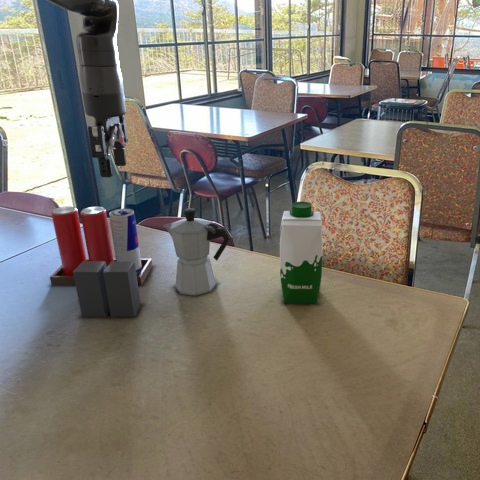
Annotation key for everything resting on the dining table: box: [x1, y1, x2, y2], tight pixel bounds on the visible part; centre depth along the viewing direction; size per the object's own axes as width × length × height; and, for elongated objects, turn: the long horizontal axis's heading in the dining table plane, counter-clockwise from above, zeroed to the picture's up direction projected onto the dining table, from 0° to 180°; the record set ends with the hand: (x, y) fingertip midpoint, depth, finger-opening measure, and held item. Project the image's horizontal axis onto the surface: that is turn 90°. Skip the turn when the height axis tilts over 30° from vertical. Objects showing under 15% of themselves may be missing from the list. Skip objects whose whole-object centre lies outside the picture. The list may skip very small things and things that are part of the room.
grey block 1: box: [73, 261, 110, 318], centre depth 94 cm, size 4×4×10 cm
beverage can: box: [108, 208, 142, 275], centre depth 106 cm, size 5×5×15 cm
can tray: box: [49, 258, 153, 287], centre depth 109 cm, size 19×9×2 cm, turn 93°
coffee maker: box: [162, 207, 232, 297], centre depth 102 cm, size 15×9×18 cm, turn 80°
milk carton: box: [279, 201, 324, 305], centre depth 100 cm, size 9×9×20 cm
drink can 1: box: [50, 205, 88, 276], centre depth 105 cm, size 5×5×15 cm
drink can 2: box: [80, 206, 115, 266], centre depth 106 cm, size 5×5×15 cm
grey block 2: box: [103, 261, 142, 318], centre depth 94 cm, size 4×4×10 cm
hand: (114, 171), depth 100 cm, fingers open, 8 cm apart
